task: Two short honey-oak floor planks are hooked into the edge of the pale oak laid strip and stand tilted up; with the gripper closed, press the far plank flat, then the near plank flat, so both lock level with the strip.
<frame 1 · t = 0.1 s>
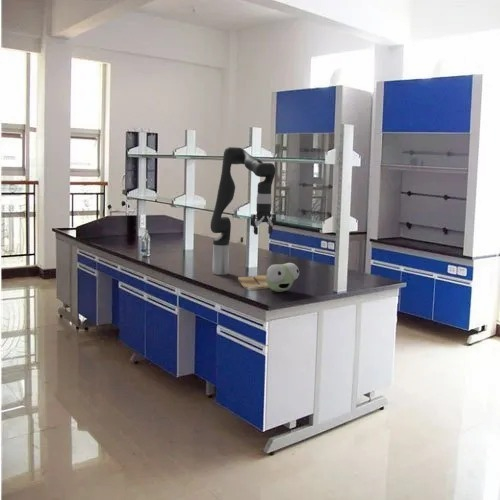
hand: (262, 234, 306), 29 cm above the table, tool pointing down, fingers open, 8 cm apart
laid strip: (262, 287, 314), on the table
plank near: (248, 282, 317), point 2 cm above the table, hinge at 24.6°
toy: (279, 292, 307), on the table
plank far: (263, 280, 322), point 2 cm above the table, hinge at 24.6°
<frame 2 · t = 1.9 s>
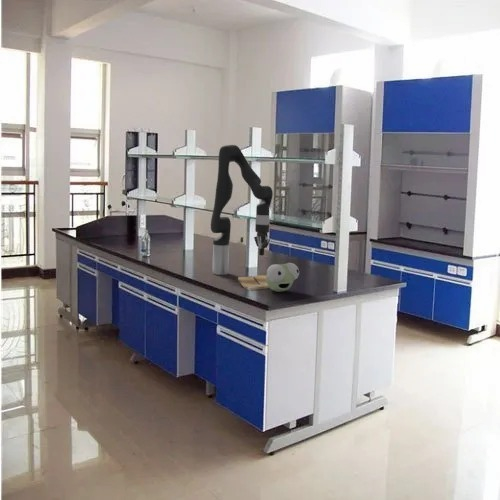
hand: (261, 255, 322), 16 cm above the table, tool pointing down, fingers closed
nothing on the table moved.
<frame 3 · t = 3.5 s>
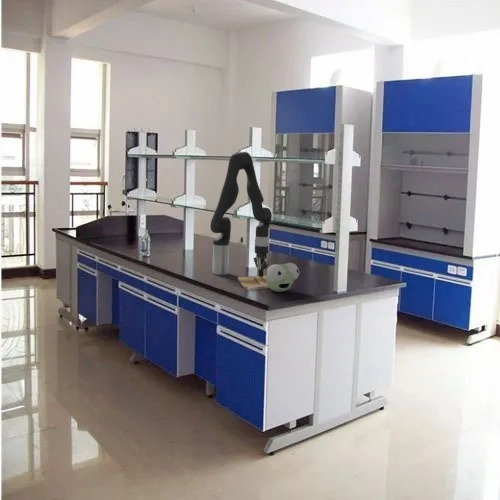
hand: (260, 276, 324), 4 cm above the table, tool pointing down, fingers closed
plank far: (263, 280, 322), point 2 cm above the table, hinge at 23.7°, touching gripper
everything else where it was.
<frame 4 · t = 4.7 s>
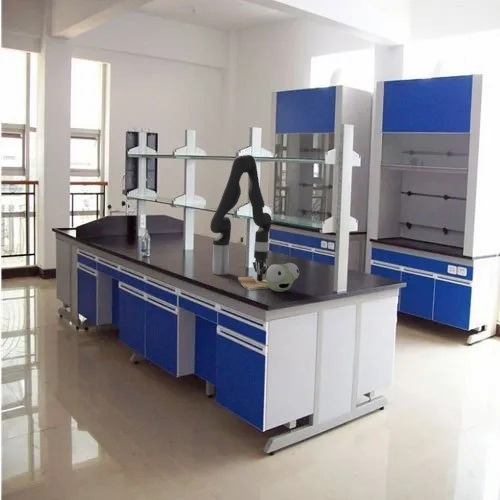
hand: (259, 280, 325), 1 cm above the table, tool pointing down, fingers closed
plank far: (262, 283, 323), point 1 cm above the table, hinge at 1.9°, touching gripper
everything else where it was.
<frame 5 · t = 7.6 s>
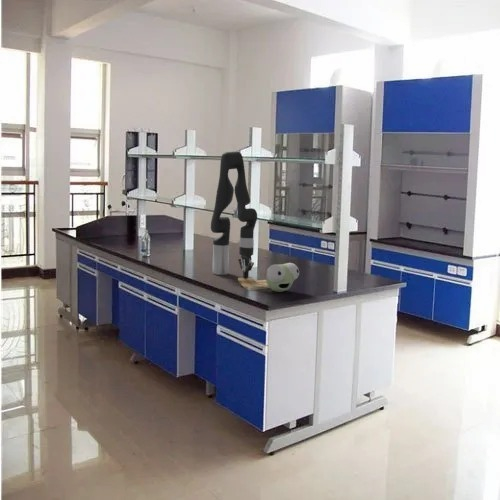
hand: (245, 277, 319), 4 cm above the table, tool pointing down, fingers closed
plank near: (248, 282, 317), point 2 cm above the table, hinge at 21.6°, touching gripper
plank far: (262, 283, 323), point 1 cm above the table, hinge at 1.8°
everything else where it was.
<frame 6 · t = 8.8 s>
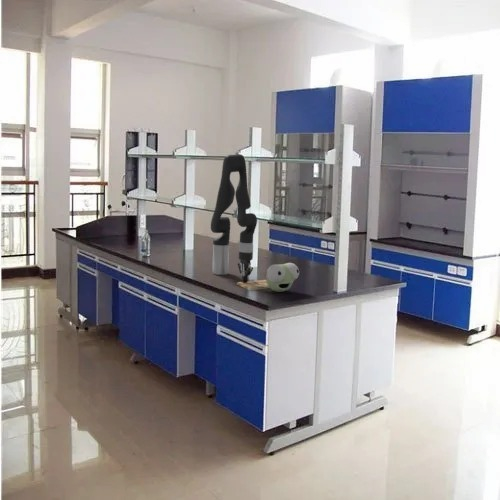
hand: (244, 282, 320), 1 cm above the table, tool pointing down, fingers closed
plank near: (247, 284, 318), point 1 cm above the table, hinge at 1.9°, touching gripper
everything else where it was.
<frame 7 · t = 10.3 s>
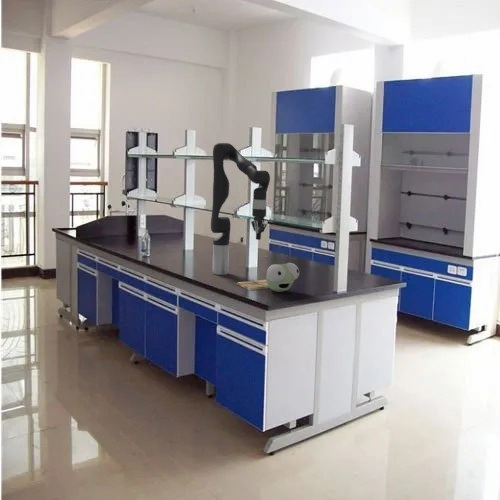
hand: (258, 239, 324), 24 cm above the table, tool pointing down, fingers closed
plank near: (247, 284, 318), point 1 cm above the table, hinge at 1.9°
everything else where it was.
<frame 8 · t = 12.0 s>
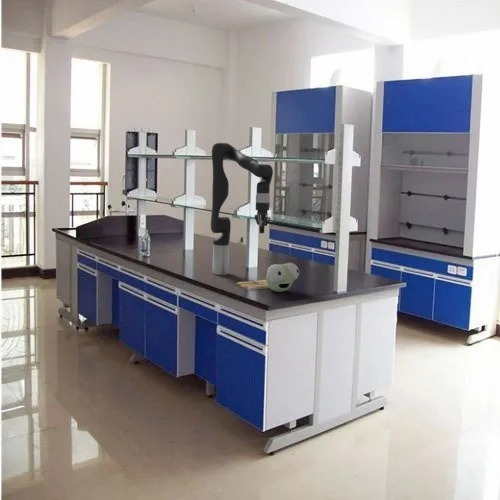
hand: (261, 233, 326), 27 cm above the table, tool pointing down, fingers closed
nothing on the table moved.
at the end: plank far at +2° (first picture: +25°); plank near at +2° (first picture: +25°) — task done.
